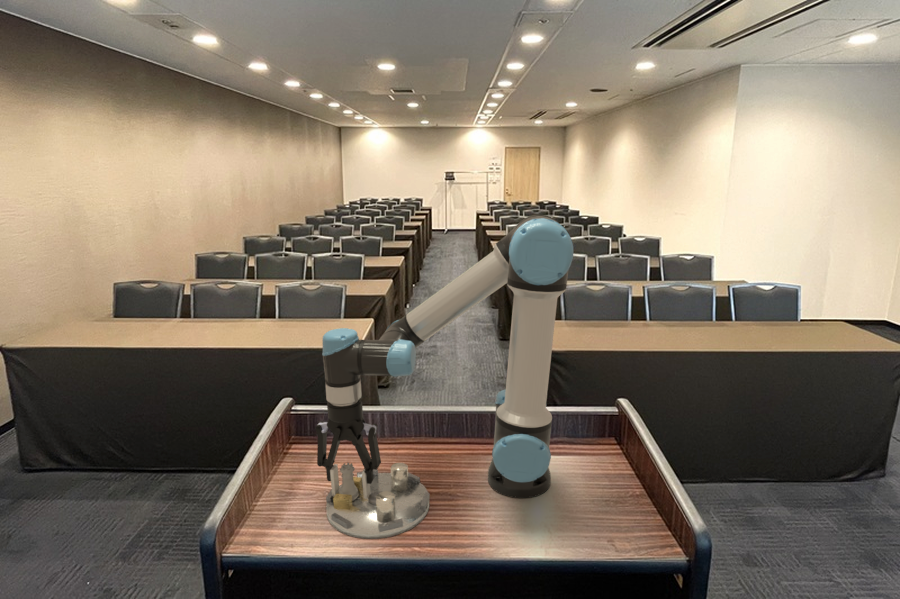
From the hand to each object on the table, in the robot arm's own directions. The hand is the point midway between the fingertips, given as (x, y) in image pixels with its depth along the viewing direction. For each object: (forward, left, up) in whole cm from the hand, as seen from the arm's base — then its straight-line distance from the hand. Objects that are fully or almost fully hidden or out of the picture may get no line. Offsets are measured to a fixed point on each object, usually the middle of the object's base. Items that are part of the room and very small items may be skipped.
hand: (351, 493), depth 126 cm
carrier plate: (-6, 0, -2) cm, 7 cm away
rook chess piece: (+1, 0, -1) cm, 1 cm away
